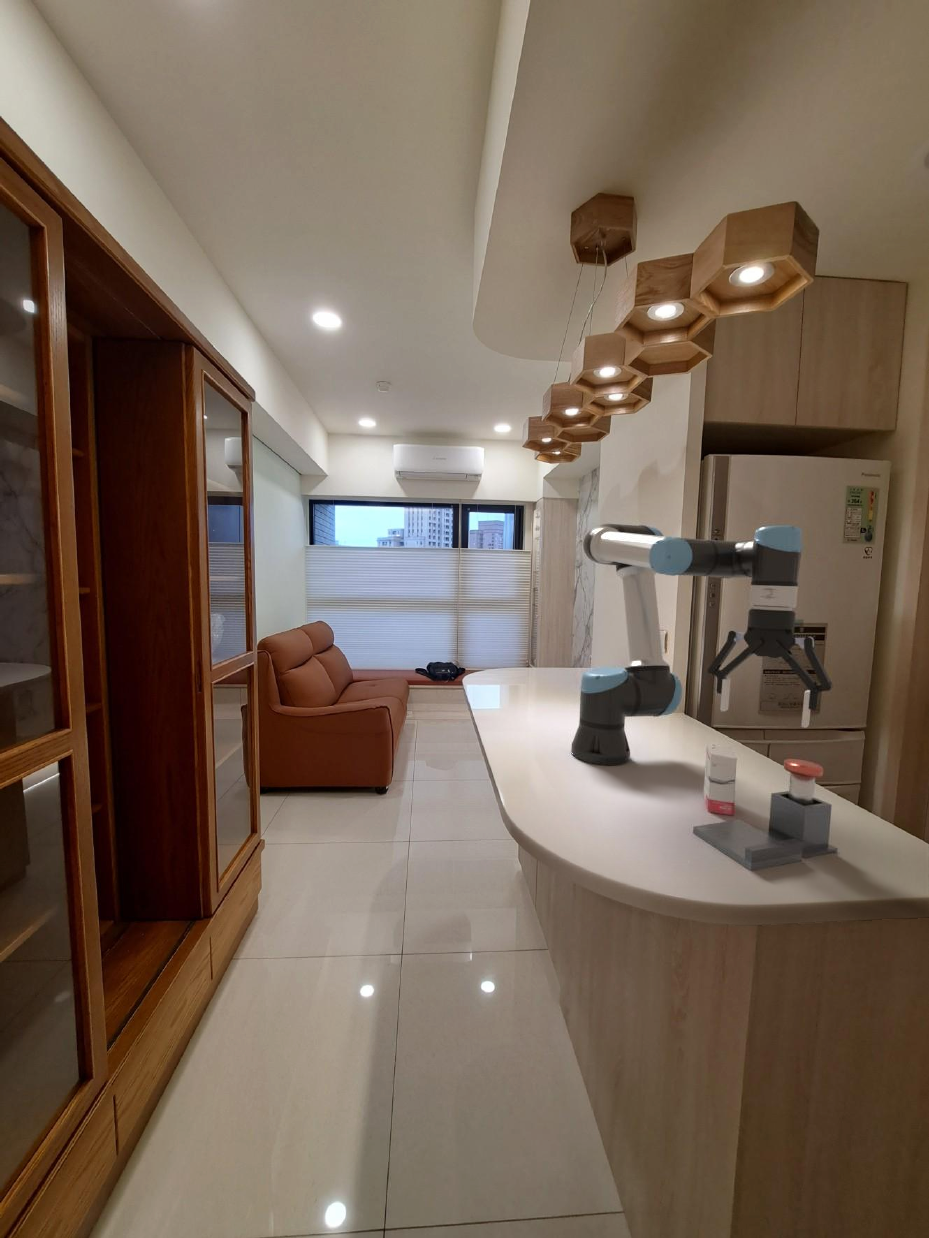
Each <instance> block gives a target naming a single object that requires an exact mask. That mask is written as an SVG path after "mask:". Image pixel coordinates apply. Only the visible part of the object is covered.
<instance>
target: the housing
mask: <svg viewBox="0 0 929 1238" xmlns="http://www.w3.org/2000/svg"><path fill="white" fill-rule="evenodd" d="M788 796H789V790H786V791H780V792H779V791H778V792H772V793H771V794H770V807H769V824H768V829H764V830H761V831H762V832H764V833H765V834H767V835H769V836H771V837H773V838H775V839H776V840H778V841H783V840H789V839H795V838H797V839H798V840H800V841H802V842H803V851H802V859H806V858H812V857H816V856H821V855H822V856H823V855H827V854H832V853H836V852H838V848H837V847H836V846H834V845H832V844H830V843H829V842H830V841H829V840H830V828H831V815H832V804H831V803H829V802H827V801H826V802H825V801H823V800H822V799H819V798H816V797H814V801H813V805H808V806H803V805H801V804H798V803H796V802H794V801H792V800H790V799H788Z"/></svg>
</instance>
